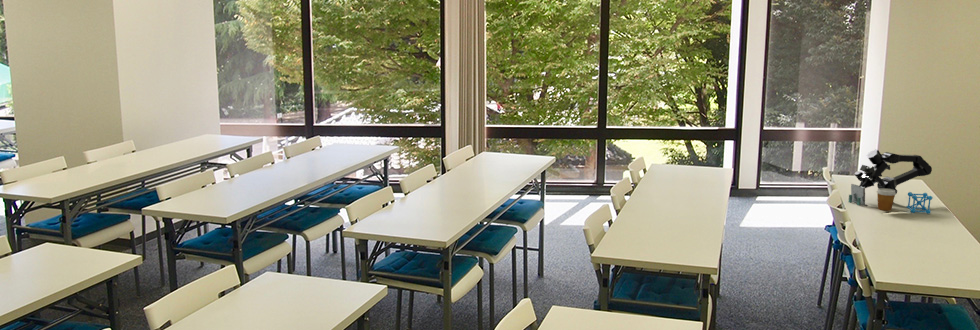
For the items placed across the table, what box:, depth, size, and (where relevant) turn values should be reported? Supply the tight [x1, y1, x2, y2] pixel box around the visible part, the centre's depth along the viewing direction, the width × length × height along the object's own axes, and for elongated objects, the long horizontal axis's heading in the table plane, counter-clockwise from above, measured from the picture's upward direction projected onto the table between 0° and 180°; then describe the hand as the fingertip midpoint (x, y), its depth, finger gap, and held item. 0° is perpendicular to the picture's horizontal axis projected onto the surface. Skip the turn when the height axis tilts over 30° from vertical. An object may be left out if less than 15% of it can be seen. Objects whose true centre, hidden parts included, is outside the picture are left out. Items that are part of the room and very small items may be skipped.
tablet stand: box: [847, 194, 869, 207], centre depth 440 cm, size 10×13×6 cm
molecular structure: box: [906, 191, 933, 215], centre depth 425 cm, size 10×10×10 cm
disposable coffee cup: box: [876, 188, 897, 214], centre depth 425 cm, size 10×10×12 cm
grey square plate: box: [850, 183, 866, 206], centre depth 438 cm, size 1×10×11 cm, turn 13°
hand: (858, 189), depth 438 cm, fingers closed, pressing on grey square plate
